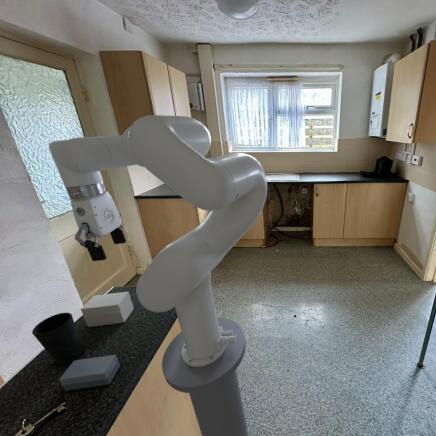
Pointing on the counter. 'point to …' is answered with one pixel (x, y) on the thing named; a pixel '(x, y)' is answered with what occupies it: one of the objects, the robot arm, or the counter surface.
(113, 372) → the blue-grey rectangular block
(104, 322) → the white book
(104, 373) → the blue-grey flat block
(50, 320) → the cup
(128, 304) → the white book
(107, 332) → the counter surface
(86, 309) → the flat grey box
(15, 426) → the counter surface
